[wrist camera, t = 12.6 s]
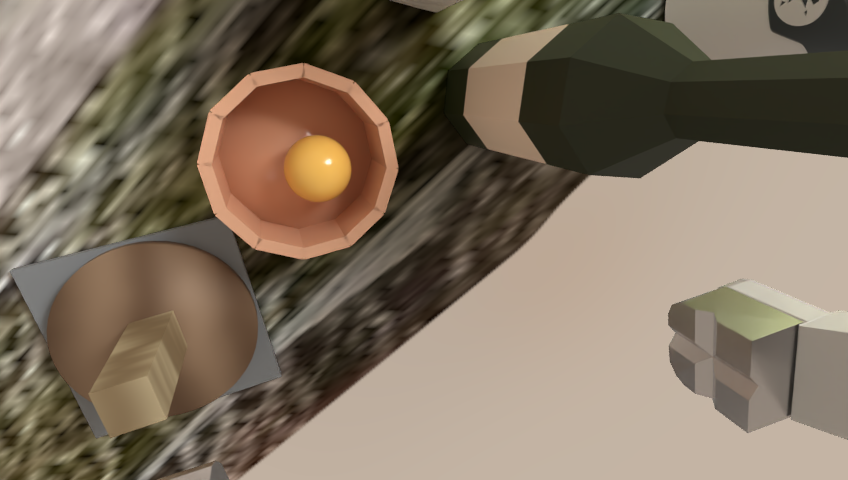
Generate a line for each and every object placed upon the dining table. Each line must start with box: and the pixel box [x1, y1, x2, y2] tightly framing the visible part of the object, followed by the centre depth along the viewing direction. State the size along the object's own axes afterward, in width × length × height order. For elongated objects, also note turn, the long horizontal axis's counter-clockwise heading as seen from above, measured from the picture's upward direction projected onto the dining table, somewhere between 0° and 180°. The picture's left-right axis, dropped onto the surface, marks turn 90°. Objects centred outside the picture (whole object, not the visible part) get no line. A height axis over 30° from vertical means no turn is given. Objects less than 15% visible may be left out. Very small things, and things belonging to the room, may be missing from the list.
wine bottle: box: [444, 13, 848, 178], centre depth 27 cm, size 8×8×30 cm
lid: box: [47, 241, 258, 438], centre depth 32 cm, size 14×14×10 cm
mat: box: [10, 217, 281, 438], centre depth 37 cm, size 14×14×1 cm
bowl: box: [197, 63, 399, 260], centre depth 34 cm, size 12×12×6 cm
